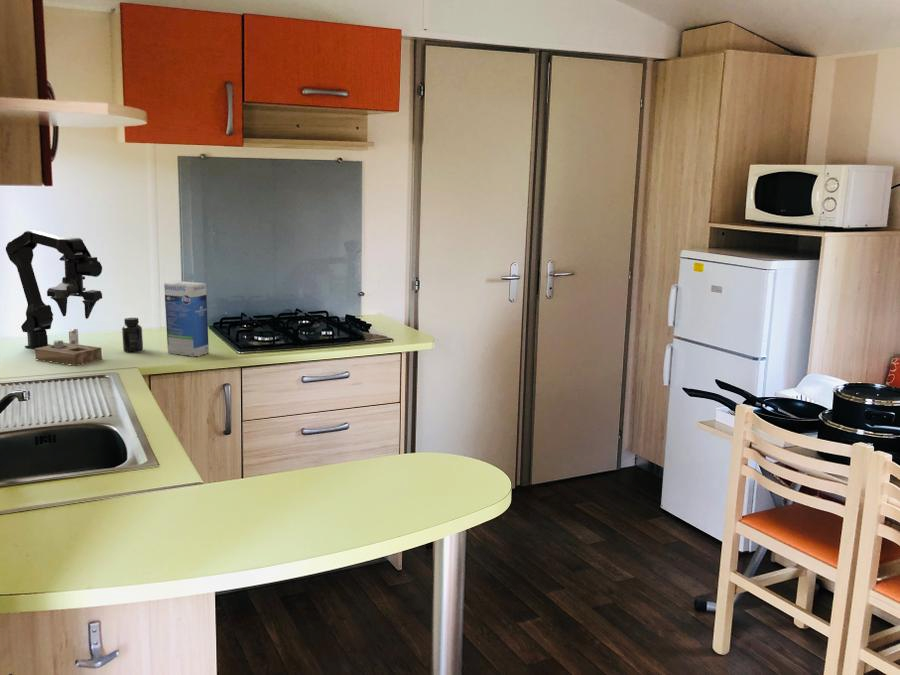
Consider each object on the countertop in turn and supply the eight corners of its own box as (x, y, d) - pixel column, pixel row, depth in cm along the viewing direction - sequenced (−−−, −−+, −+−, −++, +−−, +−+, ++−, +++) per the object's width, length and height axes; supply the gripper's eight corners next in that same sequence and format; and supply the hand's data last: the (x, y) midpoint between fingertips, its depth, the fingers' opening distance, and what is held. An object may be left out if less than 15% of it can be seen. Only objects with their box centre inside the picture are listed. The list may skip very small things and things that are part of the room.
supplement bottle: (146, 349, 318) (144, 317, 316) (138, 353, 311) (136, 320, 309) (128, 348, 319) (126, 316, 316) (119, 352, 312) (118, 319, 310)
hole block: (74, 365, 291) (73, 354, 290) (35, 359, 298) (34, 348, 297) (101, 358, 302) (101, 347, 301) (63, 353, 308) (62, 342, 308)
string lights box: (209, 353, 314) (207, 283, 308) (196, 357, 307) (193, 285, 302) (180, 349, 319) (177, 280, 313) (166, 353, 312) (163, 282, 306)
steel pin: (68, 351, 311) (66, 330, 309) (74, 350, 314) (73, 328, 312) (74, 352, 310) (73, 330, 308) (81, 351, 312) (79, 329, 311)
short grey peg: (52, 358, 301) (51, 341, 299) (59, 356, 303) (58, 340, 302) (59, 359, 299) (58, 342, 298) (66, 357, 302) (64, 340, 301)
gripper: (35, 274, 299) (37, 318, 303) (82, 279, 295) (84, 323, 299) (56, 270, 310) (58, 313, 313) (102, 275, 306) (103, 318, 309)
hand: (75, 317), depth 308 cm, fingers open, 9 cm apart
